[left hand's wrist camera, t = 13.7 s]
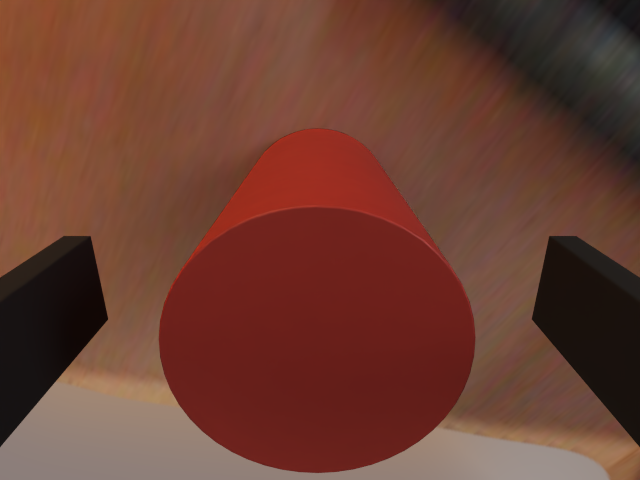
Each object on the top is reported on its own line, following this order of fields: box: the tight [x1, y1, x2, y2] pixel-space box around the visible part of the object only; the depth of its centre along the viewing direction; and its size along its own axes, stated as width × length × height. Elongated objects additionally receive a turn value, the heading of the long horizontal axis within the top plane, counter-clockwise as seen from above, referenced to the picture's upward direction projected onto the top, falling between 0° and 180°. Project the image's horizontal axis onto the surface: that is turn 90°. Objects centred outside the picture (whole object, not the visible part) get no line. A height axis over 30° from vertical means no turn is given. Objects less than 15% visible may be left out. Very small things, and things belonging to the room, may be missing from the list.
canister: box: [159, 129, 475, 473], centre depth 16 cm, size 7×7×13 cm
